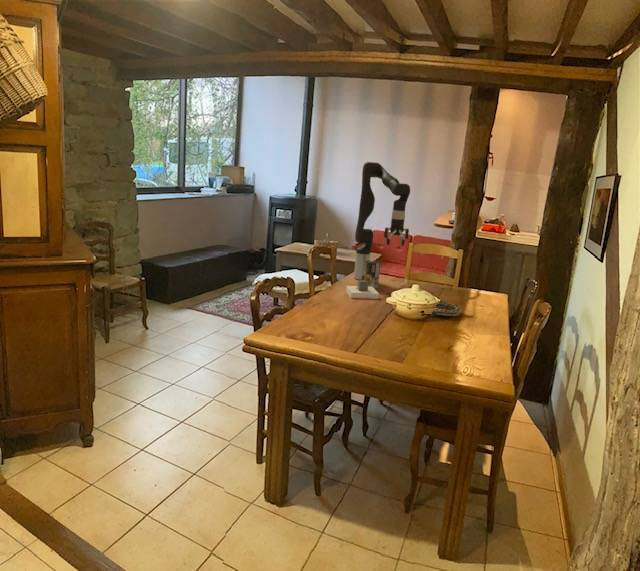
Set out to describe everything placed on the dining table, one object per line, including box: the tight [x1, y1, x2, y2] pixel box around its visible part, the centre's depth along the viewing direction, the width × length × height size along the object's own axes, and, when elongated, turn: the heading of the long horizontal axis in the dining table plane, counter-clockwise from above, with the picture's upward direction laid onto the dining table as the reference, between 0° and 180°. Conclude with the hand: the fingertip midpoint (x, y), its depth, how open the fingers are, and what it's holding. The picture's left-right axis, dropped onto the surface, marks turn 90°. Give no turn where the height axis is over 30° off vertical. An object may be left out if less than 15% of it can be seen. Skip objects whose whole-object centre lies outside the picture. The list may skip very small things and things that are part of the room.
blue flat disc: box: [430, 300, 463, 318], centre depth 255 cm, size 28×27×5 cm
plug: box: [356, 280, 368, 291], centre depth 279 cm, size 5×5×8 cm
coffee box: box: [362, 260, 381, 290], centre depth 297 cm, size 9×6×16 cm
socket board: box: [345, 285, 380, 300], centre depth 280 cm, size 16×16×3 cm
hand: (395, 245), depth 286 cm, fingers open, 8 cm apart
